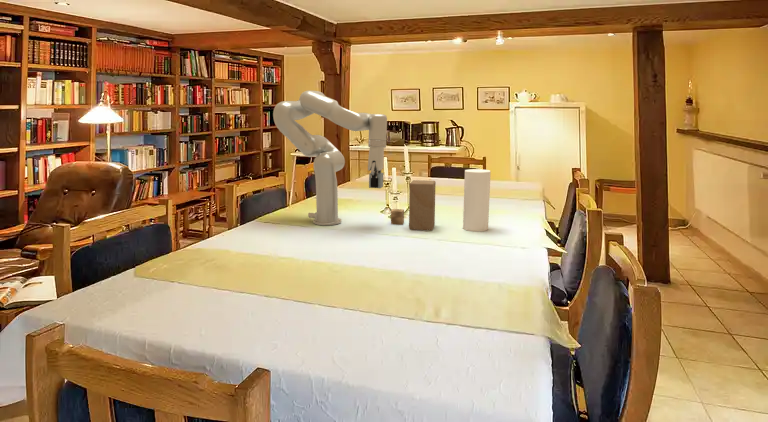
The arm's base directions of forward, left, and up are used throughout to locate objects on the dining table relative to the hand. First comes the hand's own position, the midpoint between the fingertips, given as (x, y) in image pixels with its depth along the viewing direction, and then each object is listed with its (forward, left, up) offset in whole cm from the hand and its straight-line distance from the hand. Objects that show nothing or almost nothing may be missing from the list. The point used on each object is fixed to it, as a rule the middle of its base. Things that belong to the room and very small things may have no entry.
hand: (375, 185), depth 221 cm
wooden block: (+20, +3, -18) cm, 27 cm away
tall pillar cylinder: (+42, +7, -18) cm, 47 cm away
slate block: (0, 0, -1) cm, 1 cm away
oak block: (+8, +9, -18) cm, 22 cm away
